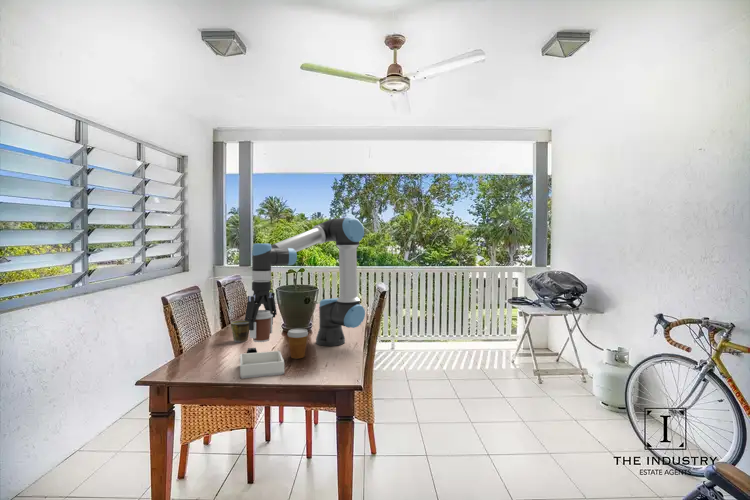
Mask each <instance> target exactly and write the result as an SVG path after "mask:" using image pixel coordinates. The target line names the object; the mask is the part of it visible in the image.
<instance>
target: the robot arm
mask: <svg viewBox="0 0 750 500" xmlns="http://www.w3.org/2000/svg"><path fill="white" fill-rule="evenodd" d="M364 235H365V228H364V225H363V223H362V222H361V221H360V220H359V219H358V218H355V217H340V218H335V217H334V218H331V219H328V220H325V221H323V222H321V223H318V224H316V225H314V226H313V227H312V229H309V230H307V231H306V230H305V231H303V232H301V233H299V234H296V235H294V236H291V237H289V238H285V239H284V240H280V241H278V242H276V243H273V244H271V243H253V244H252V248H251V249H252V251H251V270H252V271H251V273H252V274H251V280H252V282H251V291H253V293H252V295H248V296H247V299H246V300H247V303H246V304H247V305H246V310H245V315H244V316H245V317H244V320H245V321H247V322H249V338H250V339H253V338H254V339H255V338H256V322H255V319H256V316H257V313H258V310H260V307H261V306H262V305H263V307H264V310H269V311H270V313H271V314H272V315H273V317H272V318H271V326H270V334H273V325H274V318H276V315H277V314H278V313H277V309H276V308H277V307H276V301H275V295H276V294H275V292H270V291H271V290H272V282H271V280H272V267H277V266H279V267H280V266H287V267H288V266H293V265H295V264H296V262H297V259H298V257H297V256H298V254H297V252H299V251H304V249H308V248H309V247H312V246H315V245H317V244H321V245H322V244H324V243H327V242H335V246H336V247H337V249H338V260H339V263H338V265H339V269H338V270H339V273H338V274H339V276H338V277H339V297H335V298H325V299H324V298H323V299H321V300H320V301H319V307H318V310H319V312H318V313H319V314H318V317H319V321H318V323H319V324H318V325H319V326H318V327H319V328H318V331H317V334H316V337H315V344H316V345H318V346H323V347H337V346H342V345H344V344H345V343H346V337H345V334H344V331H343V327H346V328H352V329H355V328H357V327H359V326H360V325H362V323H363V321H365V317H366V310H365V308H364V307H363V305H362V304H361V299H360V298H359V297H358V284H357V283H358V277H357V275H358V274H357V271H358V270H357V267H358V266H357V263H358V262H357V249H358V247H359V246H360V242H361V241H362V240H363V238H364Z"/></svg>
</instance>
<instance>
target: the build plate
mask: <svg viewBox="0 0 750 500" xmlns="http://www.w3.org/2000/svg"><path fill="white" fill-rule="evenodd" d="M246 353H258V350H257V347H248V348H247V350H246Z"/></svg>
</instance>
